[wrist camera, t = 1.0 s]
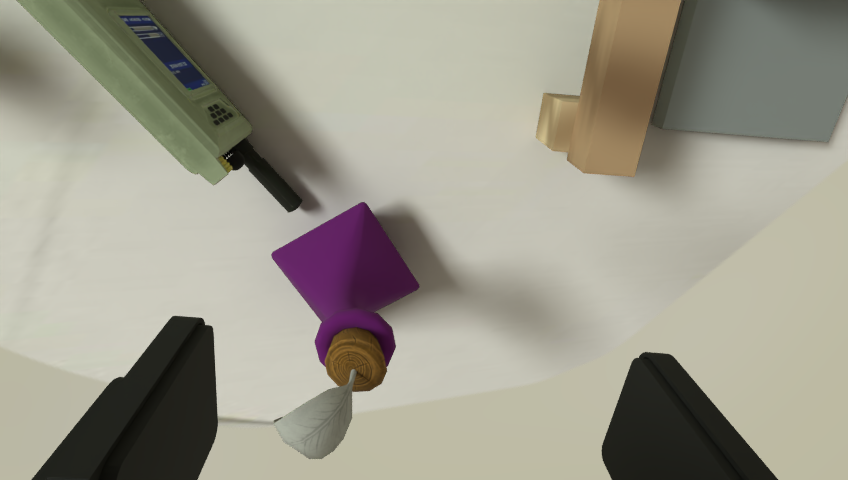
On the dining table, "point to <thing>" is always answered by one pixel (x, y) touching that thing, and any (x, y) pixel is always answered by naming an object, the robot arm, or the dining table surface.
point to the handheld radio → (159, 86)
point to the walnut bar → (621, 84)
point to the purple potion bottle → (343, 318)
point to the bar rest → (557, 121)
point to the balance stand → (757, 69)
